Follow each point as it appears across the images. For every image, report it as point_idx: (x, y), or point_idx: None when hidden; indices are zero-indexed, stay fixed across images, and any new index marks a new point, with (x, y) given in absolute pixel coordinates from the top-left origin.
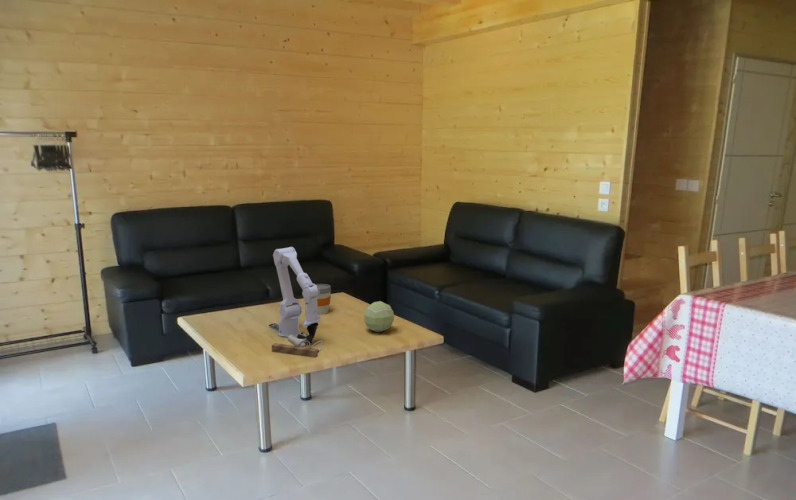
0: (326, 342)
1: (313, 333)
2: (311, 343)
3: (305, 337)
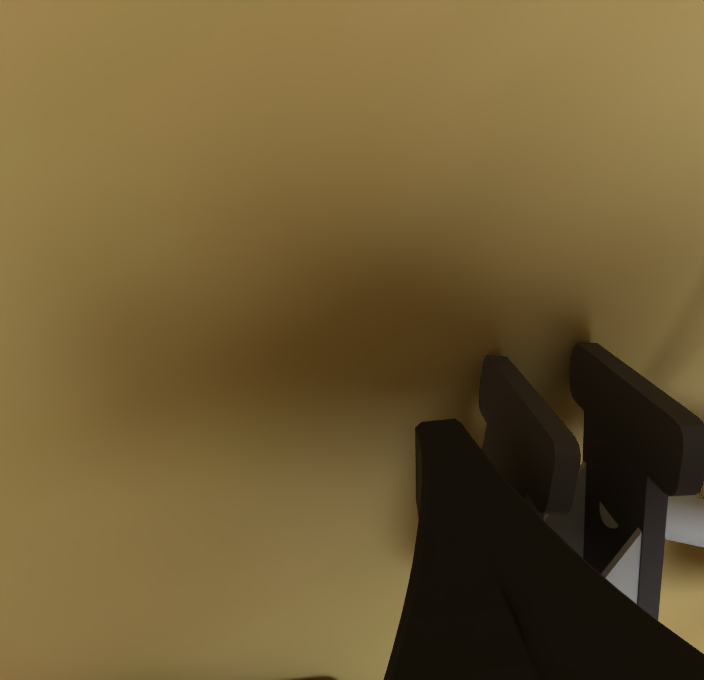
0: (258, 69)
1: (536, 521)
2: (507, 358)
3: (656, 549)
